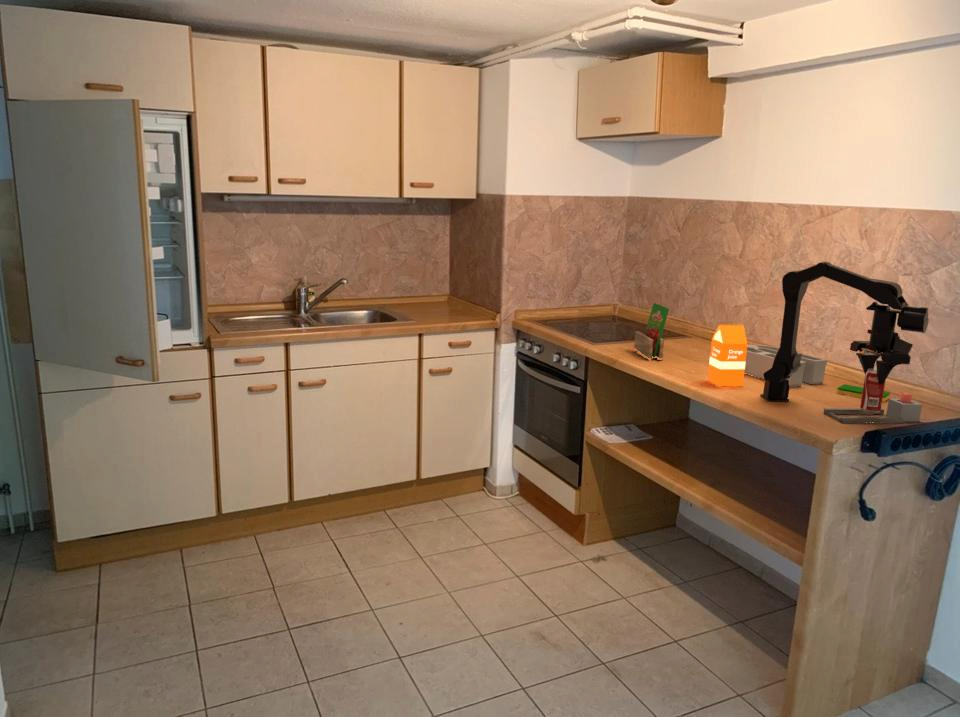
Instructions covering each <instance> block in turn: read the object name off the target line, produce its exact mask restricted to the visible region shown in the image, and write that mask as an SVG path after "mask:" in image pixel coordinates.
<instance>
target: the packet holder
mask: <svg viewBox="0 0 960 717" xmlns="http://www.w3.org/2000/svg"><path fill="white" fill-rule="evenodd" d="M644 334H645V333H642V332H641V331H639V330H637V331H635V333H634V346H633V349H634V348H636V349H637V350H638V351H640V352H641V353H642V354H644V355H645V356H647V357H648V358H652V349H653V339H651V338H649V337H647V336H646V335H644ZM664 346H665V340H664V338H661V339H660V343H659V346H658V349H657V353H656V356H657V357H659V358H662V359H663V356H664Z"/></svg>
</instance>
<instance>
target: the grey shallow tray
mask: <svg viewBox="0 0 960 717" xmlns="http://www.w3.org/2000/svg"><path fill="white" fill-rule="evenodd" d="M823 414H824V415H826V416H827V415H828V416H827V417H829V416H830V418H831V417H832V418H831V419H833V418H834V419H833V420H835V419H836V420H835V421H837V420H838V421H837V422H840V423H841V422H842V423H841V424H903V423H904V421H903V418H901V417H889V416H841V417H840V415H835V414H885V409H884V408H881V411H880V412H879V413H869V412H865V411H862V410H861V408H823ZM866 422H867V423H866ZM870 422H871V423H870ZM872 422H874V423H872ZM877 422H878V423H877ZM881 422H882V423H881Z"/></svg>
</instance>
